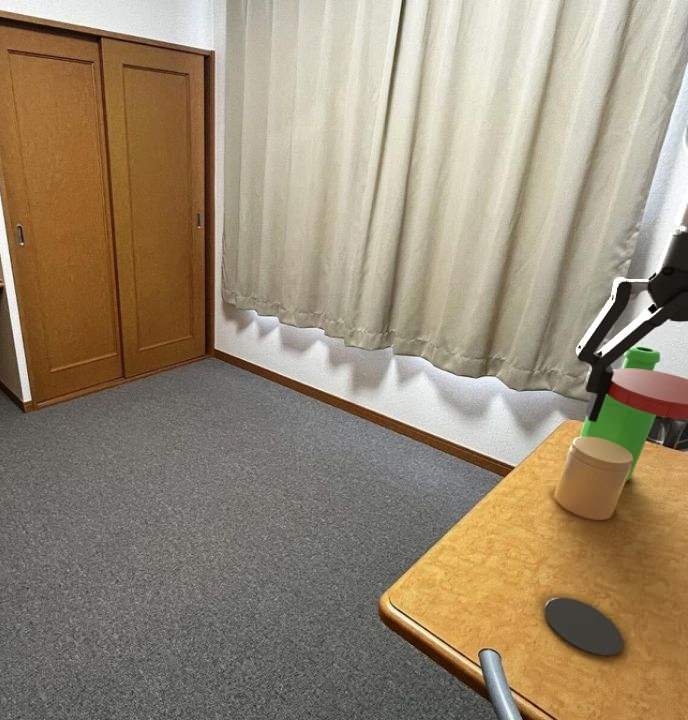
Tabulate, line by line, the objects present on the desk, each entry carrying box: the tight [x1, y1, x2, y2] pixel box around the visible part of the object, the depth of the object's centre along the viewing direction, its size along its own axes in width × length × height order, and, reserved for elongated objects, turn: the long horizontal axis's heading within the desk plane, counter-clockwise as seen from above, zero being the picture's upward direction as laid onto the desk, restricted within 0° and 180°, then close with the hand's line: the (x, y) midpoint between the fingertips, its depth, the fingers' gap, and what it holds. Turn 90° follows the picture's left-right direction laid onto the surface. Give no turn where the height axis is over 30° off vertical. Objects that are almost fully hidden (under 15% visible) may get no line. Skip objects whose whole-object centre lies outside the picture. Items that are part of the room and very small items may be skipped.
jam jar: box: [553, 436, 633, 521], centre depth 79 cm, size 8×8×12 cm
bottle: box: [579, 345, 661, 482], centre depth 85 cm, size 9×9×25 cm
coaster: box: [543, 597, 624, 657], centre depth 60 cm, size 8×8×1 cm
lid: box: [607, 368, 688, 420], centre depth 54 cm, size 9×9×2 cm
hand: (643, 426), depth 56 cm, fingers closed on lid, 9 cm apart
